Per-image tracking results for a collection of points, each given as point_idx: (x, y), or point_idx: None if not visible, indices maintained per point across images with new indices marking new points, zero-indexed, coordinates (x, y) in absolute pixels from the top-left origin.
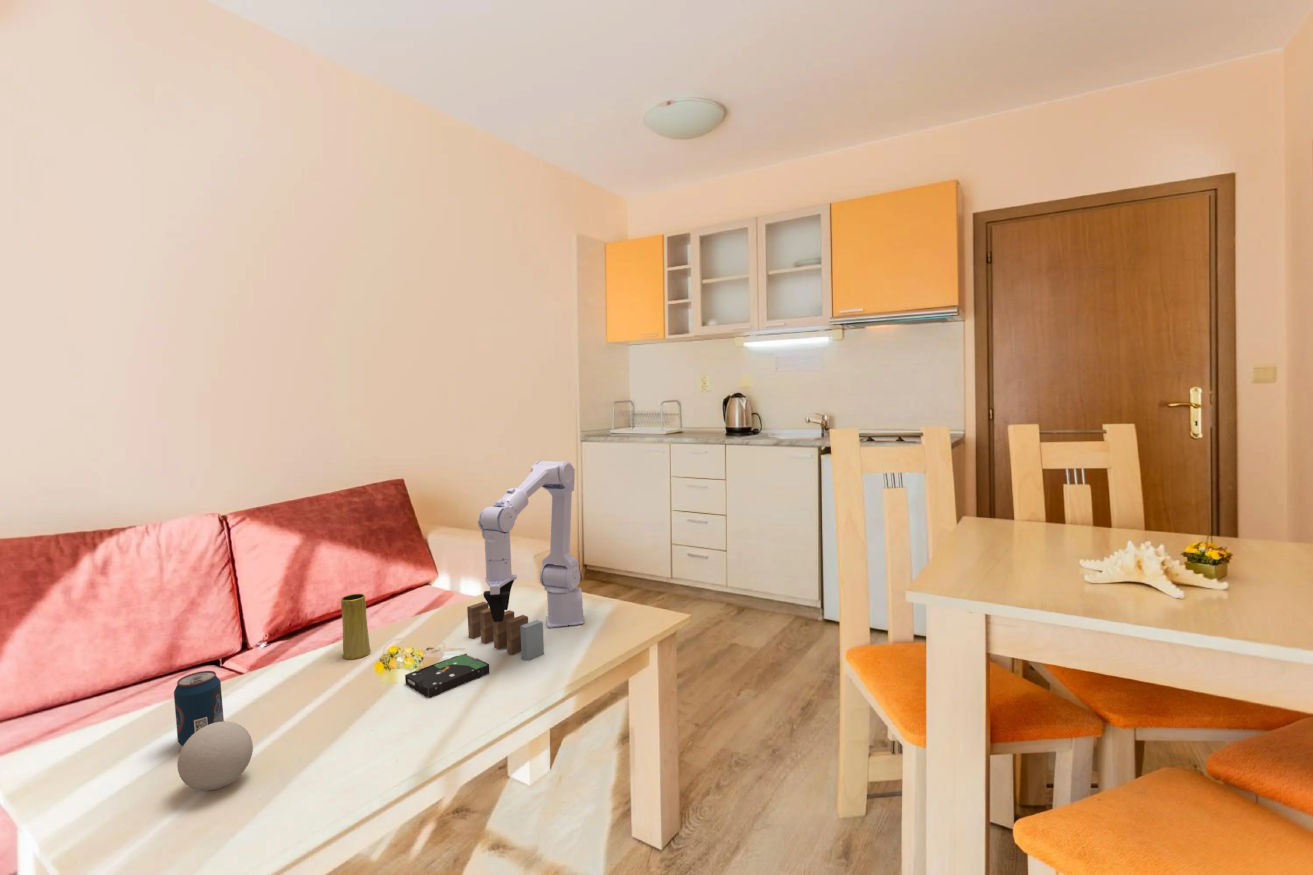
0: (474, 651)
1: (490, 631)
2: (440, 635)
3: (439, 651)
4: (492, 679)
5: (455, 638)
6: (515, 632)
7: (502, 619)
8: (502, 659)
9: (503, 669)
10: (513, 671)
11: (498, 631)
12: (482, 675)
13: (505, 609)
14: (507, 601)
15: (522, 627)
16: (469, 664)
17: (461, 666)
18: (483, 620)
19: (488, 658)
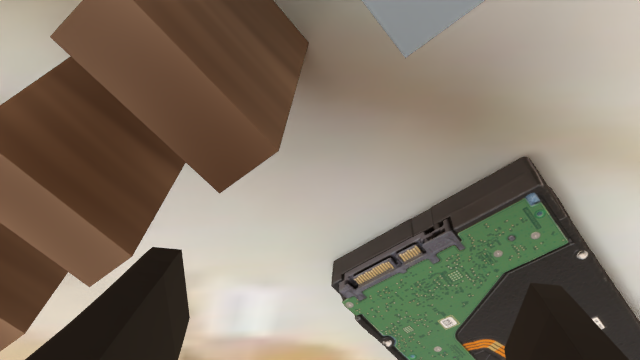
0: (217, 234)
1: None
2: (25, 356)
3: (199, 349)
4: (618, 139)
5: (55, 309)
6: (263, 70)
7: (574, 303)
8: (358, 99)
9: (508, 87)
10: (568, 27)
11: (167, 182)
12: (551, 189)
13: (183, 267)
14: (136, 320)
15: (436, 30)
16: (492, 270)
17: (503, 298)
18: (51, 292)
19: (323, 170)
